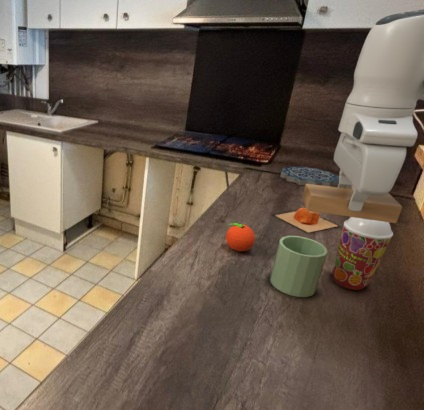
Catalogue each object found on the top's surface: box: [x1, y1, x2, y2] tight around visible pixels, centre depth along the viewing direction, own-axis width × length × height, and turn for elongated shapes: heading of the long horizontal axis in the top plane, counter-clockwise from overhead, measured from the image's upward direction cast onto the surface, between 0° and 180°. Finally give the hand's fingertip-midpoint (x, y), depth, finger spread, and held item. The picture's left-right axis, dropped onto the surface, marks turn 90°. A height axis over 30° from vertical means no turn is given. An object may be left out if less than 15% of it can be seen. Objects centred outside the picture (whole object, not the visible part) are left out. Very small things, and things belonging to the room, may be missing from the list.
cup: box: [269, 235, 329, 298], centre depth 78 cm, size 9×9×10 cm
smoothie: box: [331, 217, 394, 291], centre depth 76 cm, size 8×8×20 cm
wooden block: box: [301, 184, 403, 224], centre depth 64 cm, size 6×13×3 cm, turn 68°
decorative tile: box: [279, 165, 339, 187], centre depth 143 cm, size 20×20×2 cm
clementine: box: [224, 222, 256, 252], centre depth 93 cm, size 8×7×7 cm
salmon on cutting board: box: [274, 207, 339, 233], centre depth 108 cm, size 12×12×4 cm
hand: (347, 201), depth 64 cm, fingers closed on wooden block, 6 cm apart
